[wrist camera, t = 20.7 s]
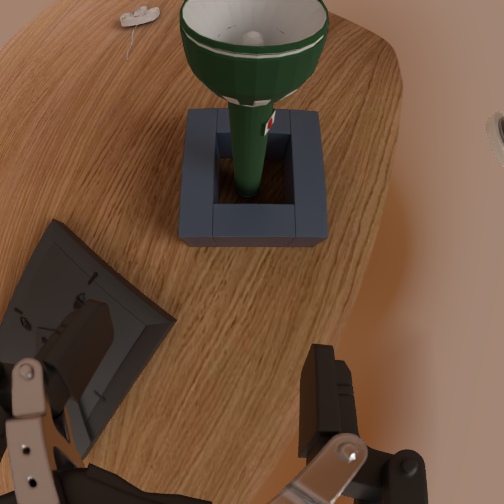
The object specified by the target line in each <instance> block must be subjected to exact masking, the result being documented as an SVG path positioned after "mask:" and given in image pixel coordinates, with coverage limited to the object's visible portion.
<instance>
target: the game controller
mask: <svg viewBox="0 0 504 504" xmlns="http://www.w3.org/2000/svg"><path fill="white" fill-rule="evenodd" d="M159 15H160V12H159V7H154V8H152V9H150V10H148V11H147V7H146V6H142V7H138V10H137V11H135V12H134V14H133V12H130V14H129V13H125V14H123V15H121V17H120V22H121V25H122V26H123V27H126V26H133V25H136V27H137V25H138V24H143V23H147V22H150V21H153V20H155V19H156V18H157V17H158V16H159ZM134 29H136V28H134ZM133 32H134V30H133ZM132 43H133V33H132ZM131 47H132V44H131ZM130 49H131V48H130ZM128 52H129V50H128ZM127 57H128V53H127ZM127 61H128V60H127Z"/></svg>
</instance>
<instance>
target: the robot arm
mask: <svg viewBox="0 0 504 504" xmlns="http://www.w3.org/2000/svg"><path fill="white" fill-rule="evenodd" d="M498 127H499V132H500V135H501V138H502V141H503V143H504V116H503V117H502V118H500V119H499V122H498ZM113 339H114V328H113V324H112V320H111V316H110V312H109V308H108V305H107V304H106V303H103V302H100V301H96V300H92V299H89V300H87V301H86V303H85V304H84V305H83V306H82V307H81V309H79V308H77V309H75V310H74V311H72V312H71V313H69V314H68V315H67V316H66V317H65V318H64V320H63V321H62V322H61V325H59V326H58V327H57V328H56V330H55V332H53V334H52V335H51V336H50V337H49V339H48V340H47V341H46V343H45V344H44V345H43V347H42V348H41V349H40V351H39V352H38V353H37V355H36V356H35V357H34V358H25V359H22V360H20V361H19V362H18V363H17V364H9V363H3V362H1V361H0V462H1V459H2V457H3V455H4V452H5V450H6V448H7V447H8V455H9V462H10V469H11V475H12V480H13V485H14V490H15V491H12V492H9V493H7V494H4V495H1V496H0V504H212V502H211V501H206V500H201V499H196V498H192V497H187V496H183V495H179V494H160V493H148V492H144V491H142V490H140V489H138V488H137V487H135V486H133V485H132V484H130V483H129V482H127V481H126V480H124V479H122V478H121V477H119V476H118V475H116V474H114V473H112V472H109V471H107V470H104V469H102V468H100V467H97V466H95V465H93V464H90V463H89V465H88V468H85V467H84V464H83V461H82V459H81V456H80V454H79V453H78V451H77V449H76V446H75V443H74V439H73V435H72V430H71V426H70V421H69V416H68V410H67V406H66V403H67V401H68V399H69V400H71V401H74V402H76V403H78V402H79V400H80V398H81V397H82V395H83V393H84V391H85V389H86V388H87V386H88V384H89V382H90V380H91V379H92V377H93V375H94V373H95V372H96V370H97V368H98V366H99V365H100V363H101V361H102V360H103V358H104V356H105V355H106V353H107V351H108V350H109V348H110V346H111V344H112V342H113ZM353 394H354V392H353V386H352V378H351V372H350V370H349V368H348V367H347V365H346V364H345V362H344V361H341V360H335V357H334V349H333V346H331V345H322V344H312V345H311V348H310V350H309V353H308V356H307V358H306V361H305V363H304V366H303V369H302V372H301V378H300V415H299V447H298V457H299V458H306V467H305V468H304V469H303V470H302V471H301V472H300V473H299V474H298V475H297V476H296V477H295V478H294V479H293V480H292V481H291V482H290V483H289V484H288V485H287V486H286V487H285V488H283V490H281V491H280V493H278V494H277V495H276V496H275V497H274V498H273V499H272V500H270V501H269V502H268V503H267V504H332V503H333V502H334V501H335V500H336V499H337V498H338V496H339V495H344V496H348V497H352V498H354V504H428V493H427V481H426V470H425V463H424V460H423V458H422V457H421V456H420V455H419V454H418V453H417V452H415V451H413V450H407V449H406V450H401V451H399V452H397V453H396V454H394V455H393V454H389V453H385V452H381V451H378V450H374V449H372V448H370V447H368V446H367V445H366V444H365V443H364V441H363V440H362V439H361V438H360V436H359V433H358V426H357V417H356V409H355V400H354V396H353Z"/></svg>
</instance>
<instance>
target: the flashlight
mask: <svg viewBox="0 0 504 504" xmlns="http://www.w3.org/2000/svg"><path fill="white" fill-rule="evenodd" d="M328 26H329V17H328V10H327V8H326V6H325V5H324V3H323V1H322V0H185V1H184V3H183V5H182V7H181V9H180V32H181V37H182V41H183V46H184V51H185V55H186V58H187V61H188V64H189V65H190V67H191V69H192V71H193V73H194V74H195V75H196V77H197V78H198V79H199V80H200V82H201V83H202V84H203V85H204V86H205V87H206V88H207V89H208V90H210V91H211V92H212V93H214V94H215V95H217V96H219V97H221V98H223V99H225V100H226V101H228V108H229V120H230V132H231V144H232V156H233V167H234V179H235V189H236V191H237V193H238V194H239V195H240V196H241V197H243V198H252V197H254V196H255V195H256V194H257V193H258V191H259V189H260V183H261V176H262V170H263V164H264V158H265V152H266V145H267V139H268V133H269V129H270V128H271V126H272V124H273V122H274V117H275V111H276V109H273V102H277V101H280V100H282V99H284V98H286V97H287V96H289V95H291V94H292V93H294V92H295V91H296V90H297V89H298V88H299V87H300V86H301V85H302V84H303V83H304V82H305V81H306V80H307V79H308V78H309V77H310V76H311V75H312V74H313V73H314V70H315V68H316V65H317V63H318V61H319V58H320V56H321V53H322V50H323V47H324V43H325V40H326V37H327V33H328Z"/></svg>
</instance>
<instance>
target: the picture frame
mask: <svg viewBox="0 0 504 504" xmlns="http://www.w3.org/2000/svg"><path fill="white" fill-rule="evenodd" d="M89 299H92V300H96V301H100V302H103V303H106V304H107V305H108V308H109V312H110V316H111V320H112V324H113V328H114V339H113V342H112V344H111V346H110V348H109V350H108V351H107V353H106V355H105V356H104V358H103V360H102V361H101V363H100V365H99V366H98V368H97V370H96V372H95V373H94V375H93V377H92V379H91V380H90V382H89V384H88V386H87V388H86V389H85V391H84V393H83V395H82V397H81V398H80V400H79V402H78V403H76V402H74V401H71V400H69V399H68V401H67V403H66V406H67V410H68V416H69V421H70V426H71V430H72V435H73V439H74V443H75V446H76V449H77V451H78V453H79V454H80V456H81V459H82V460H83V459H84V458H85V457H86V456H87V455H88V453H89V451H90V450H91V448H92V447H93V445H94V444H95V442H96V441H97V439H98V437H99V436H100V434H101V433H102V431H103V430H104V428H105V427H106V425H107V424H108V422H109V421H110V419H111V417H112V416H113V414H114V413H115V411H116V410H117V408H118V407H119V405H120V404H121V402H122V401H123V399H124V398H125V396H126V395H127V393H128V392H129V390H130V389H131V387H132V386H133V384H134V383H135V381H136V380H137V378H138V377H139V375H140V374H141V372H142V371H143V369H144V368H145V366H146V365H147V363H148V362H149V360H150V359H151V357H152V356H153V355H154V353H155V352H156V350H157V349H158V347H159V346H160V344H161V343H162V341H163V340H164V338H165V337H166V336H167V334H168V333H169V331H170V330H171V328H172V327H173V325H174V324H175V322H176V321H177V320H176V319H175V318H173V317H172V316H171V315H169V314H168V313H167V312H166V311H164V310H163V309H162V308H160V307H159V306H158V305H156V304H155V303H154V302H153V301H151V300H150V299H149V298H148V297H146V296H145V295H144V294H143V293H141V292H140V291H139V290H138V289H137V288H135V287H134V286H133V285H132V284H130V283H129V282H128V281H127V280H126V279H124V278H123V277H122V276H121V275H120V274H119V273H117V272H116V271H115V270H114V269H113V268H112V267H110V266H109V265H108V264H107V263H106V262H105V261H104V260H102V259H101V258H100V257H99V256H98V255H97V254H96V253H95V252H94V251H92V250H91V249H90V248H89V247H88V246H87V245H86V244H85V243H84V242H83V241H82V240H81V239H79V238H78V237H77V236H76V235H75V234H74V233H73V232H72V231H71V230H70V229H69V228H68V227H67V226H66V225H65V224H64V223H62V222H60V221H57V220H55V219H52V221H51V223H50V224H49V226H48V228H47V229H46V231H45V233H44V234H43V236H42V238H41V240H40V242H39V243H38V245H37V247H36V249H35V251H34V252H33V254H32V256H31V258H30V260H29V262H28V264H27V266H26V268H25V270H24V272H23V274H22V276H21V278H20V280H19V283H18V285H17V287H16V289H15V291H14V294H13V296H12V298H11V300H10V303H9V305H8V308H7V310H6V313H5V315H4V318H3V320H2V323H1V325H0V361H1V362H3V363H9V364H17V363H18V362H19V361H20V360H22V359H25V358H34V357H35V356H36V355H37V353H38V352H39V351H40V349H41V348H42V347H43V345H44V344H45V343H46V341H47V340H48V339H49V337H50V336H51V335H52V334H53V332H55V330H56V328H57V327H58V326H59V325H61V322H62V321H63V320H64V318H65V317H66V316H67V315H68V314H69V313H71V312H72V311H74V310H75V309H77V308H79V309H81V307H82V306H83V305H84V304H85V303H86V301H87V300H89Z"/></svg>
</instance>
